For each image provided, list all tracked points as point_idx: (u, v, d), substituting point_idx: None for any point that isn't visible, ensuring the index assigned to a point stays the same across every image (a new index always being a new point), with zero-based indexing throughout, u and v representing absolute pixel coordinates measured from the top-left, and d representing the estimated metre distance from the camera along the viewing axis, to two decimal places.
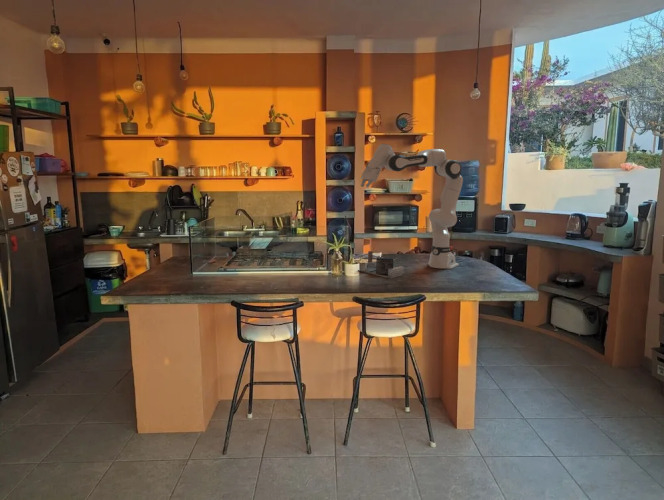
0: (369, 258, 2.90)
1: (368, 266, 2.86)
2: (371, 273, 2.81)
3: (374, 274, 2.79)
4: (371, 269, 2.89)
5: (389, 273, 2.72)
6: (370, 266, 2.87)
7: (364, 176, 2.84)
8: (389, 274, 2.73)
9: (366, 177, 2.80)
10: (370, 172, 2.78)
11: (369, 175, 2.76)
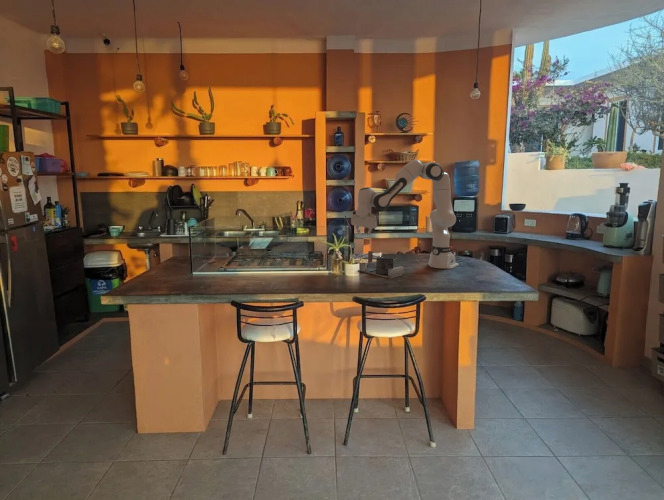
0: (369, 258, 2.90)
1: (368, 266, 2.86)
2: (371, 273, 2.81)
3: (374, 274, 2.79)
4: (371, 269, 2.89)
5: (389, 273, 2.72)
6: (370, 266, 2.87)
7: (358, 223, 2.92)
8: (389, 274, 2.73)
9: (362, 225, 2.90)
10: (364, 219, 2.88)
11: (366, 223, 2.87)
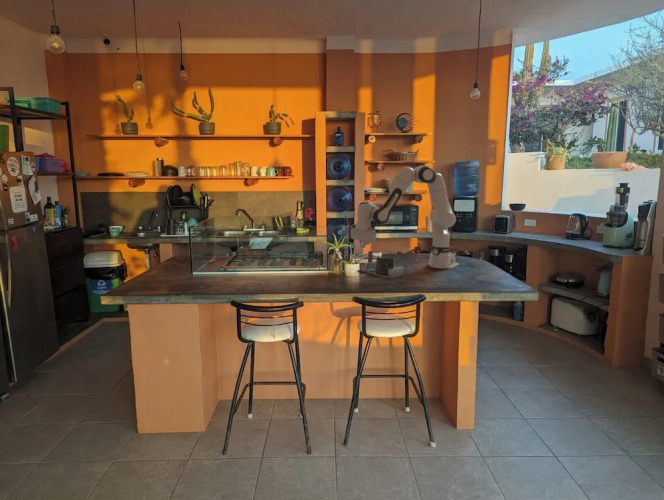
0: (369, 258, 2.90)
1: (368, 266, 2.86)
2: (371, 273, 2.81)
3: (374, 274, 2.79)
4: (371, 269, 2.89)
5: (389, 273, 2.72)
6: (370, 266, 2.87)
7: (357, 237, 2.94)
8: (389, 274, 2.73)
9: (362, 239, 2.91)
10: (364, 234, 2.90)
11: (366, 237, 2.89)
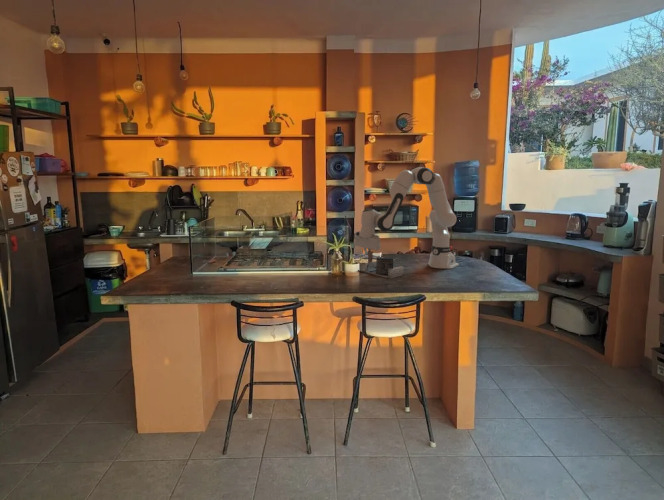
0: (369, 258, 2.90)
1: (368, 266, 2.86)
2: (371, 273, 2.81)
3: (374, 274, 2.79)
4: (371, 269, 2.89)
5: (389, 273, 2.72)
6: (370, 266, 2.87)
7: (361, 244, 2.93)
8: (389, 274, 2.73)
9: (366, 246, 2.90)
10: (368, 241, 2.88)
11: (370, 245, 2.87)
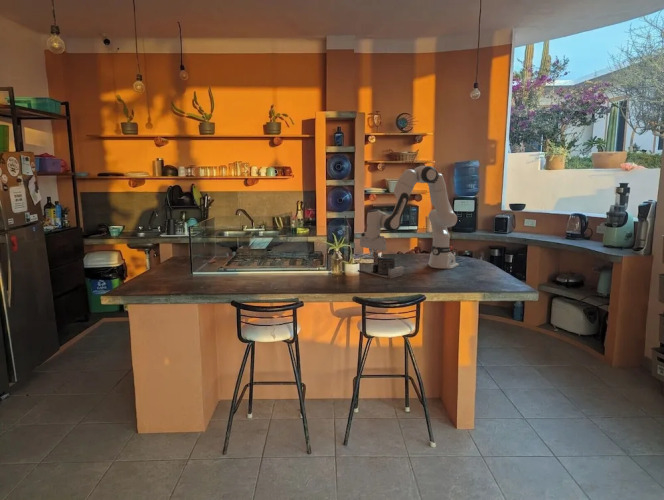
0: (375, 259, 2.87)
1: (374, 267, 2.83)
2: (371, 273, 2.81)
3: (374, 274, 2.79)
4: (377, 270, 2.85)
5: (389, 273, 2.72)
6: (375, 268, 2.84)
7: (367, 245, 2.89)
8: (389, 274, 2.73)
9: (371, 247, 2.86)
10: (374, 242, 2.85)
11: (375, 245, 2.83)
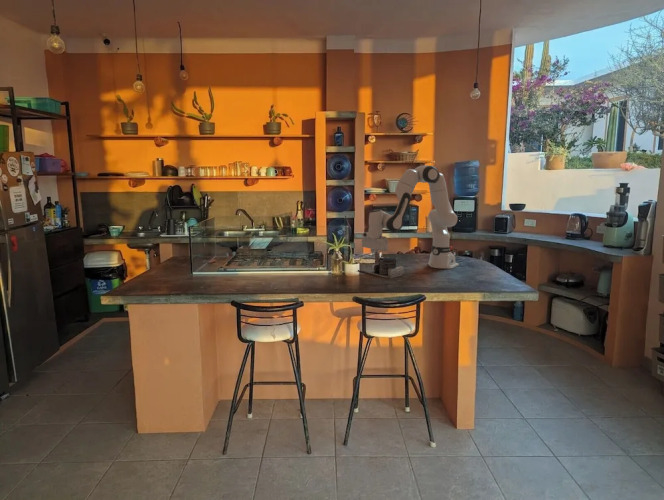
0: (376, 260, 2.86)
1: (375, 268, 2.82)
2: (371, 273, 2.81)
3: (374, 274, 2.79)
4: (378, 271, 2.84)
5: (389, 273, 2.72)
6: (377, 268, 2.83)
7: (368, 245, 2.88)
8: (389, 274, 2.73)
9: (373, 247, 2.85)
10: (375, 242, 2.84)
11: (377, 246, 2.82)
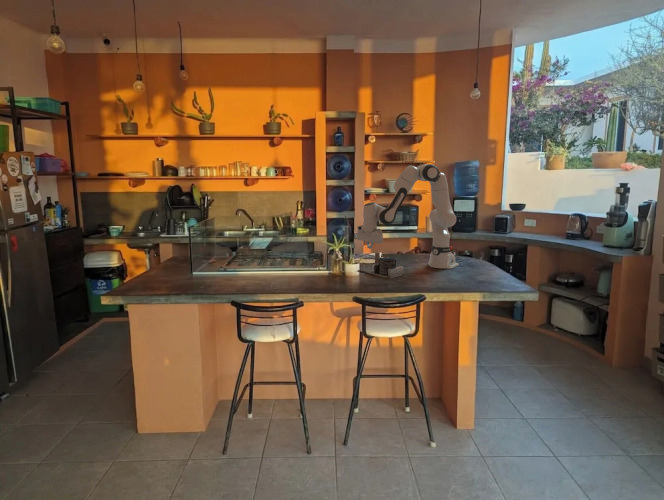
0: (376, 260, 2.86)
1: (375, 268, 2.82)
2: (371, 273, 2.81)
3: (374, 274, 2.79)
4: (378, 271, 2.84)
5: (389, 273, 2.72)
6: (377, 268, 2.83)
7: (364, 238, 2.93)
8: (389, 274, 2.73)
9: (368, 240, 2.90)
10: (370, 235, 2.88)
11: (372, 238, 2.87)
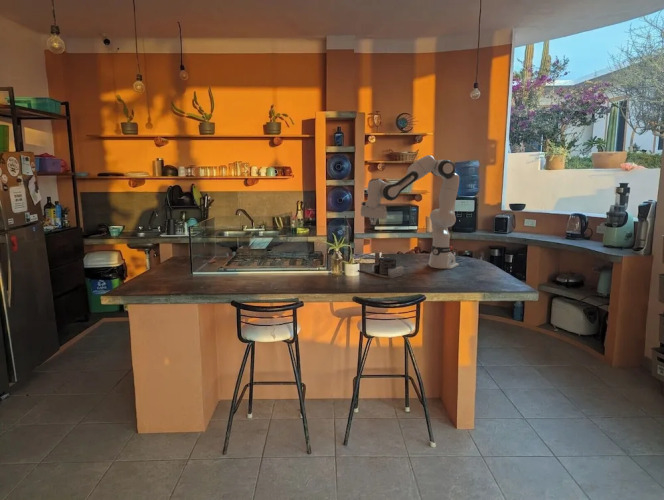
0: (376, 260, 2.86)
1: (375, 268, 2.82)
2: (371, 273, 2.81)
3: (374, 274, 2.79)
4: (378, 271, 2.84)
5: (389, 273, 2.72)
6: (377, 268, 2.83)
7: (367, 214, 2.95)
8: (389, 274, 2.73)
9: (372, 216, 2.92)
10: (374, 210, 2.90)
11: (376, 214, 2.89)
